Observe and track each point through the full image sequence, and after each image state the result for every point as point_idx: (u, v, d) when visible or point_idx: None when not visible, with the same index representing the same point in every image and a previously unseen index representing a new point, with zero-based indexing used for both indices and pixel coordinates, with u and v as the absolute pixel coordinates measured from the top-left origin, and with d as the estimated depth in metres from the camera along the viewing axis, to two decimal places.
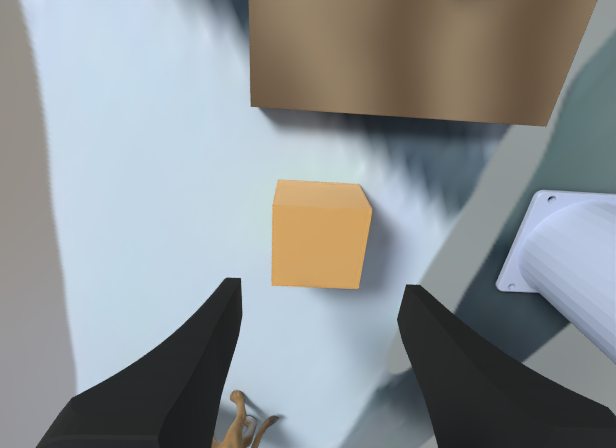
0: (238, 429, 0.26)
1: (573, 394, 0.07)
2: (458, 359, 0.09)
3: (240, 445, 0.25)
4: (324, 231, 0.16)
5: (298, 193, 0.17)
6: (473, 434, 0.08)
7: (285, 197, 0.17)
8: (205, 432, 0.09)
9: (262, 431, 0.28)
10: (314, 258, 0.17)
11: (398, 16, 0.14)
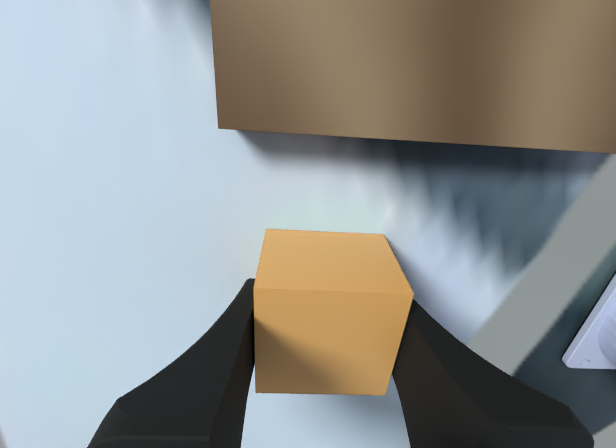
0: None
1: (536, 393, 0.07)
2: (428, 358, 0.09)
3: None
4: (336, 323, 0.10)
5: (295, 258, 0.11)
6: (439, 434, 0.08)
7: (275, 268, 0.11)
8: (237, 432, 0.09)
9: None
10: (320, 358, 0.11)
11: None
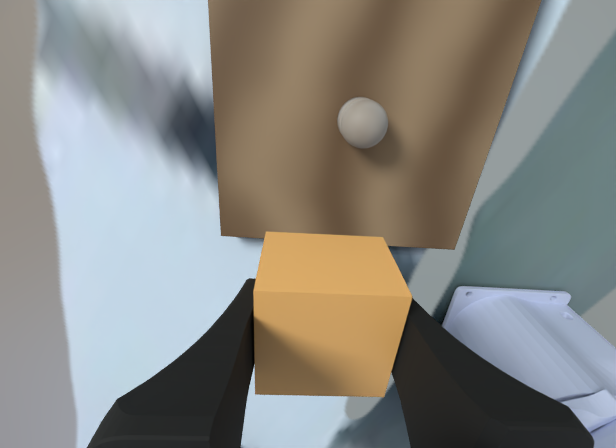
0: None
1: (536, 393, 0.07)
2: (428, 358, 0.09)
3: None
4: (335, 326, 0.10)
5: (294, 260, 0.11)
6: (440, 434, 0.08)
7: (275, 271, 0.11)
8: (237, 432, 0.09)
9: None
10: (319, 360, 0.11)
11: (332, 180, 0.19)
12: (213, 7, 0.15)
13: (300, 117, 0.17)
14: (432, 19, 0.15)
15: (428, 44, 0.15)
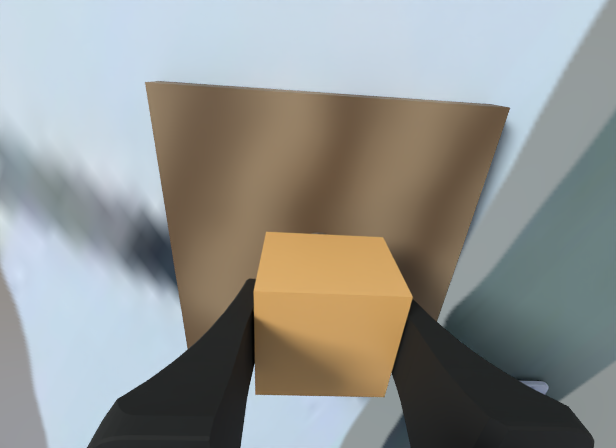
0: None
1: (536, 393, 0.07)
2: (428, 358, 0.09)
3: None
4: (336, 326, 0.10)
5: (295, 260, 0.11)
6: (439, 434, 0.08)
7: (275, 271, 0.11)
8: (237, 432, 0.09)
9: None
10: (319, 361, 0.11)
11: None
12: (163, 162, 0.14)
13: (259, 250, 0.17)
14: (386, 167, 0.15)
15: (383, 187, 0.15)
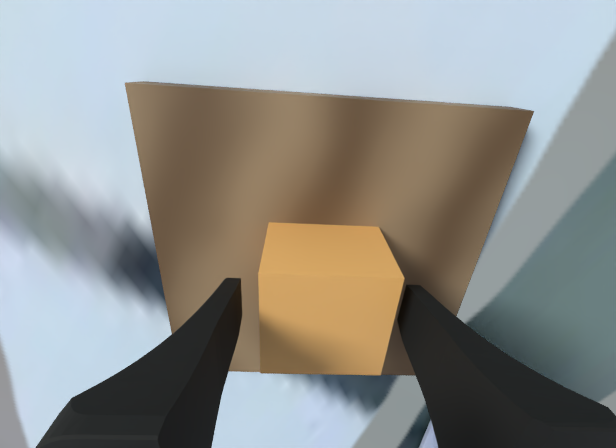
0: None
1: (573, 394, 0.07)
2: (458, 359, 0.09)
3: None
4: (334, 306, 0.11)
5: (296, 247, 0.12)
6: (473, 434, 0.08)
7: (277, 257, 0.12)
8: (205, 432, 0.09)
9: None
10: (319, 340, 0.12)
11: None
12: (147, 172, 0.13)
13: (254, 267, 0.15)
14: (394, 176, 0.13)
15: (392, 199, 0.14)
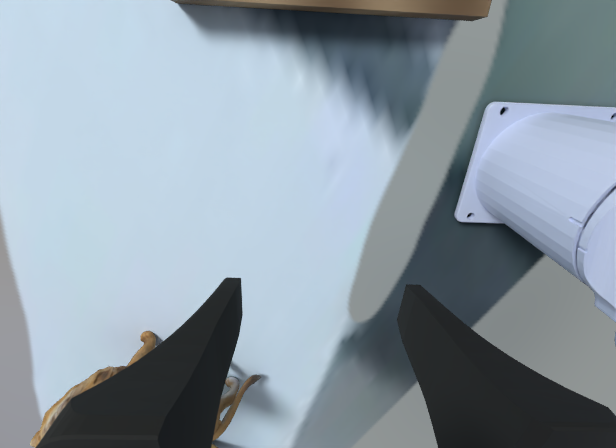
0: None
1: (573, 394, 0.07)
2: (458, 359, 0.09)
3: None
4: None
5: None
6: (473, 434, 0.08)
7: None
8: (205, 432, 0.09)
9: (243, 389, 0.28)
10: None
11: None
12: None
13: None
14: None
15: None
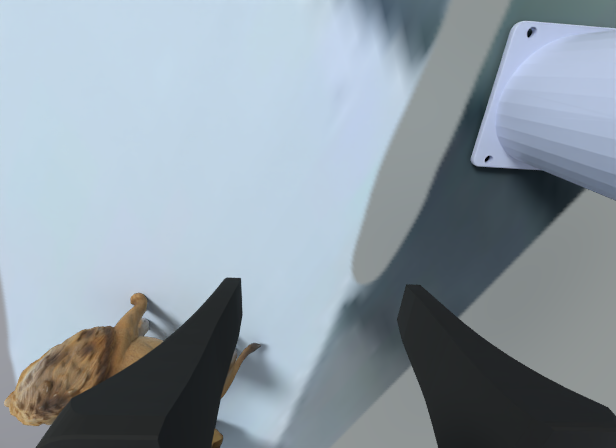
0: None
1: (573, 394, 0.07)
2: (458, 359, 0.09)
3: None
4: None
5: None
6: (473, 434, 0.08)
7: None
8: (205, 432, 0.09)
9: (242, 357, 0.26)
10: None
11: None
12: None
13: None
14: None
15: None
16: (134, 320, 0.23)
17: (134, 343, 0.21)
